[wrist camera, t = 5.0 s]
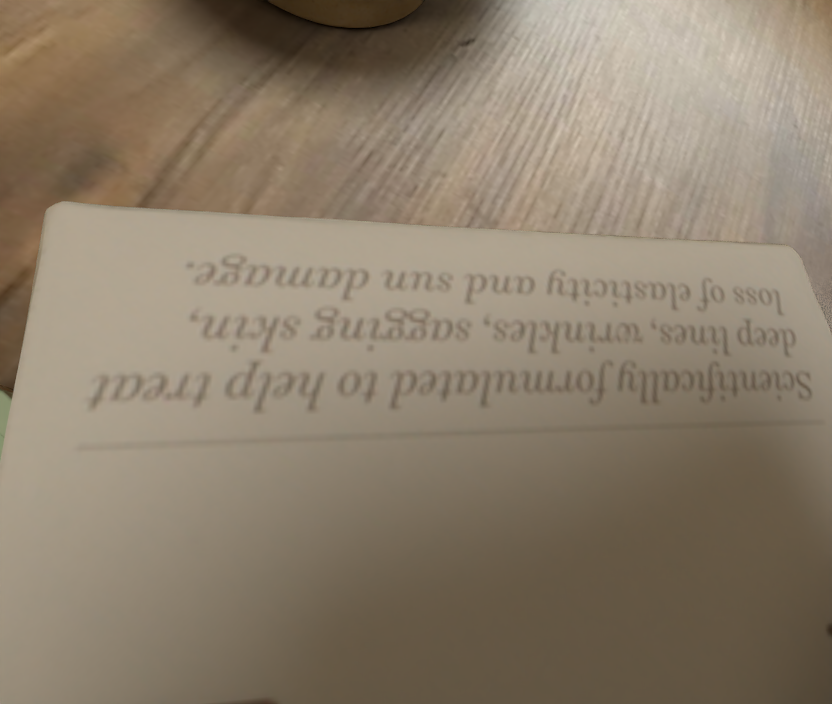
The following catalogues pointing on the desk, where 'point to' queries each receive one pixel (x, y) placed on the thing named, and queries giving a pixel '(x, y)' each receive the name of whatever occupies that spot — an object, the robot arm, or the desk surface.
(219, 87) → the desk surface
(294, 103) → the desk surface
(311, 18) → the planter bowl
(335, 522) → the cosmetic box
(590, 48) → the desk surface
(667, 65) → the desk surface
